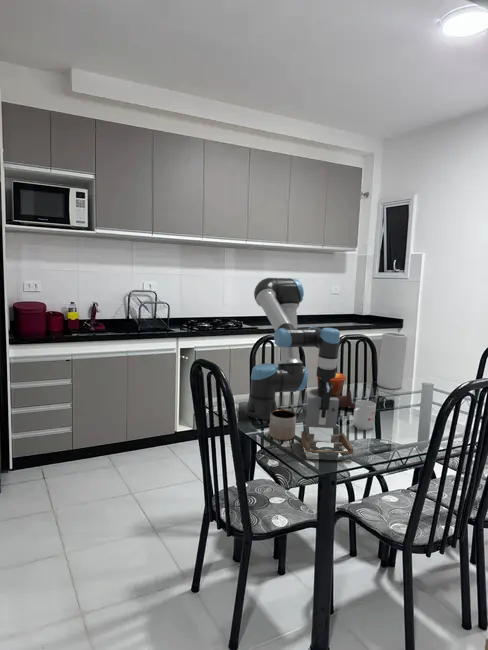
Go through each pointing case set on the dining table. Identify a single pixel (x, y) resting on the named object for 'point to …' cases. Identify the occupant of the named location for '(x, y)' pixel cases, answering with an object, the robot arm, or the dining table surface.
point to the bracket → (345, 400)
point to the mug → (364, 414)
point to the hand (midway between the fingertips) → (321, 422)
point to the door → (314, 411)
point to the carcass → (338, 441)
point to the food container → (336, 384)
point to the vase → (392, 360)
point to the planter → (282, 424)
